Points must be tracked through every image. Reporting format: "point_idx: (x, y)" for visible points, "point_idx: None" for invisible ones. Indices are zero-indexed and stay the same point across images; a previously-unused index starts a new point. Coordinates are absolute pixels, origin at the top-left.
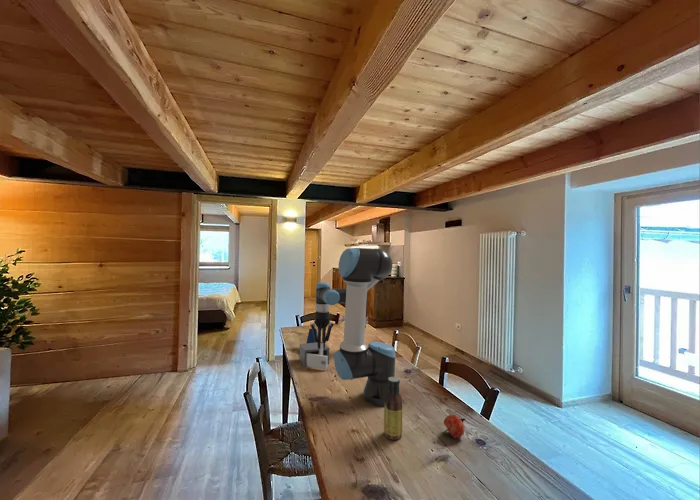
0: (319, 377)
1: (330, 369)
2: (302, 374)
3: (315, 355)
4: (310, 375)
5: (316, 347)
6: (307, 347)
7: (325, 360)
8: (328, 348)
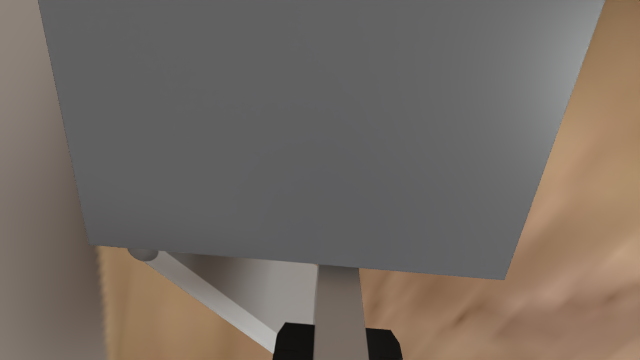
0: (254, 354)
1: (384, 277)
2: (150, 279)
3: (239, 326)
4: (204, 311)
5: (316, 179)
6: (153, 116)
7: None
8: (484, 276)
